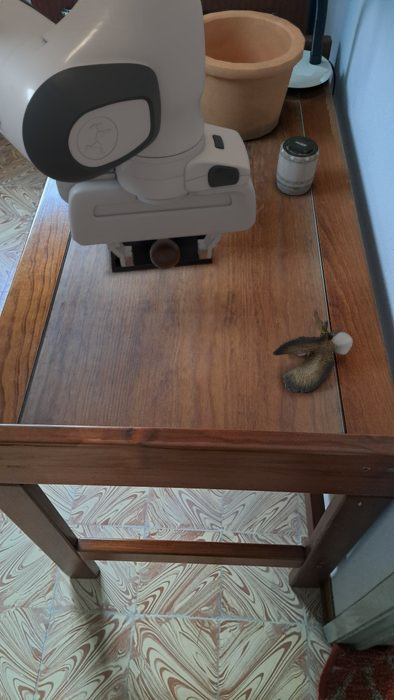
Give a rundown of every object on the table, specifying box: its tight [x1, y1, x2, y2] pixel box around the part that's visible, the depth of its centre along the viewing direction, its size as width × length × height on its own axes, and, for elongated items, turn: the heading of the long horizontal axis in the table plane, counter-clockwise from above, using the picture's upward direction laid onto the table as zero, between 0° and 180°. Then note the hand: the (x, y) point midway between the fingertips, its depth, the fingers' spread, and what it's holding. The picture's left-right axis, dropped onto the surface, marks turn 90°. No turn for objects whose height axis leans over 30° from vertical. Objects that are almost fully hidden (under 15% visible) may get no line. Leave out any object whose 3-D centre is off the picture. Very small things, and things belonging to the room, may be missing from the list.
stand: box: [110, 235, 213, 273], centre depth 72 cm, size 15×6×14 cm, turn 98°
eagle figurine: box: [272, 308, 354, 394], centre depth 63 cm, size 8×7×9 cm
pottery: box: [200, 9, 306, 142], centre depth 93 cm, size 22×22×14 cm
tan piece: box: [150, 238, 180, 270], centre depth 67 cm, size 10×25×4 cm, turn 8°
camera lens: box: [276, 135, 321, 196], centre depth 84 cm, size 6×6×8 cm
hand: (166, 258), depth 61 cm, fingers open, 8 cm apart
